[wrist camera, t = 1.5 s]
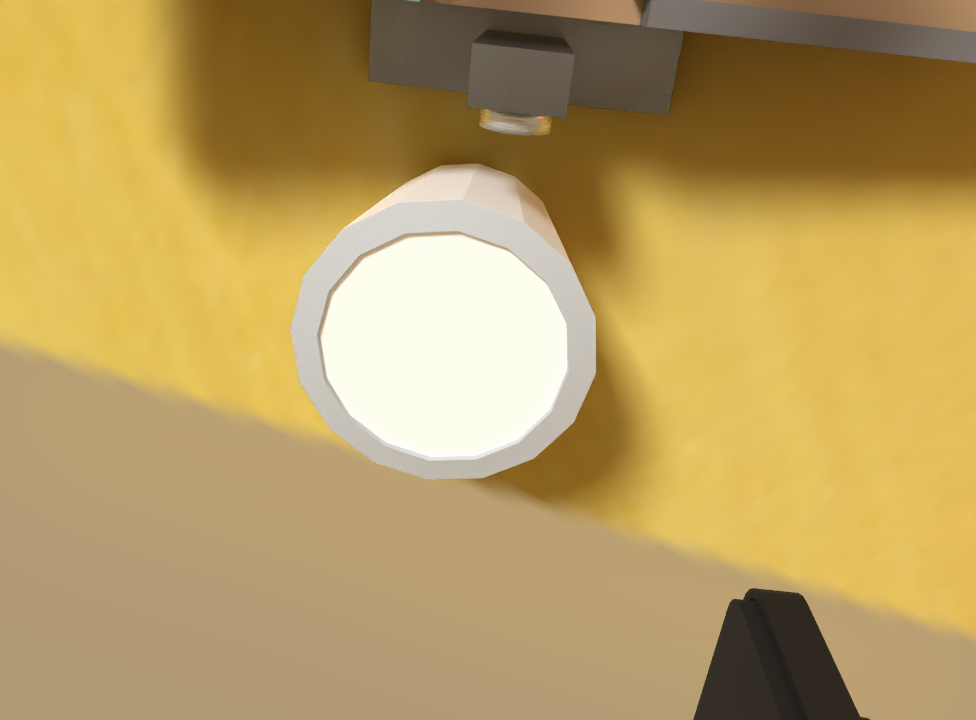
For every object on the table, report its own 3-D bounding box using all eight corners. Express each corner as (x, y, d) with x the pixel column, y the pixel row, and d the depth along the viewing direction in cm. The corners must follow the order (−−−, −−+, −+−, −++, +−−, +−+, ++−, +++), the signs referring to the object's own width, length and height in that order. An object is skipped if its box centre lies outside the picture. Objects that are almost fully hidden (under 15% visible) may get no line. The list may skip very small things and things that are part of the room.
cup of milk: (505, 396, 26) (497, 528, 19) (315, 292, 25) (241, 398, 18) (626, 218, 23) (662, 305, 17) (419, 93, 22) (374, 135, 16)
